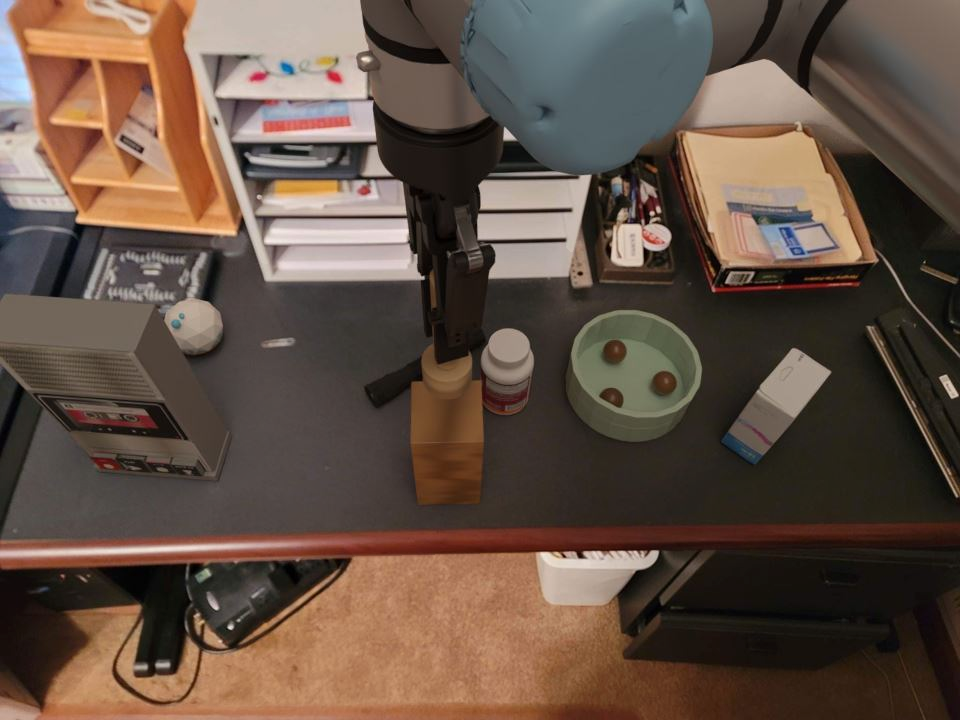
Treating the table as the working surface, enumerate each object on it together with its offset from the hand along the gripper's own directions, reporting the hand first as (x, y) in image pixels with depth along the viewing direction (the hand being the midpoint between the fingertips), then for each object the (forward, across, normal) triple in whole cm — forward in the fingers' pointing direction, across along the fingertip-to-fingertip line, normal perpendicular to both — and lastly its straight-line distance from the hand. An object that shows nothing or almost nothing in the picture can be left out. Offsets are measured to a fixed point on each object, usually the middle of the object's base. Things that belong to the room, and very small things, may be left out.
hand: (446, 343), depth 58 cm
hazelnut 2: (+24, -2, +21) cm, 32 cm away
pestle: (+5, 0, 0) cm, 5 cm away
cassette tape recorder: (+27, -14, -30) cm, 43 cm away
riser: (+27, 0, 0) cm, 27 cm away
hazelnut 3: (+24, -2, +29) cm, 38 cm away
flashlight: (+27, -15, +2) cm, 31 cm away
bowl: (+27, -4, +25) cm, 37 cm away
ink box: (+27, +7, +37) cm, 46 cm away
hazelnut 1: (+24, -9, +25) cm, 36 cm away
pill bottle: (+27, -8, +10) cm, 30 cm away
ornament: (+27, -29, -24) cm, 46 cm away
